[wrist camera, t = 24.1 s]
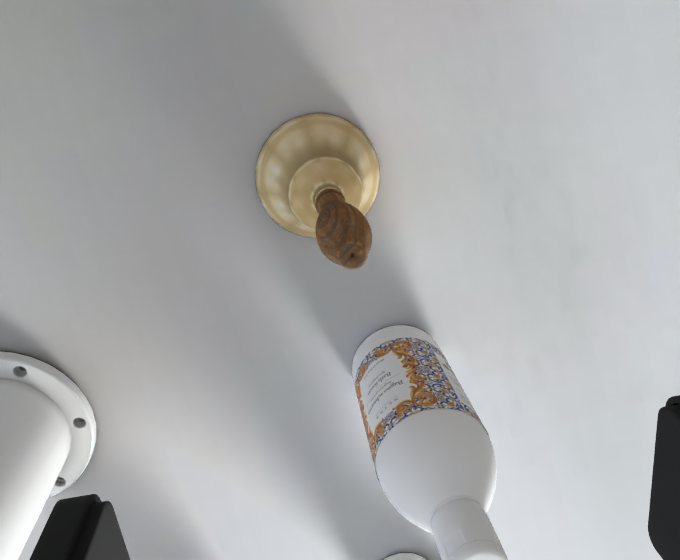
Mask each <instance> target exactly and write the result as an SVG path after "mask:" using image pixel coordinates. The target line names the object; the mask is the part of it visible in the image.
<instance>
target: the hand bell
mask: <svg viewBox="0 0 680 560" xmlns="http://www.w3.org/2000/svg"><path fill="white" fill-rule="evenodd" d="M255 180H256V188H257V192H258V195H259V199H260V201H261V203H262V205H263V207H264V209H265V210H266V212H267V213H268V214H269V215H270V217H271V218H272V219H273V220H274V221H275V222H276V223H277V224H279V225H280V226H281V227H283V228H284V229H286V230H288V231H289V232H292V233H294V234H297V235H300V236H304V237H311V238H317V242H318V245H319V247H320V249H321V251H322V252H323V254H324V255H325V256H326V257H327V258H328V259H329V260H331V261H332V262H334V263H336V264H339V265H341V266H343V267H345V268H347V269H357V268H360V267H361V266H362V265H363V264H364V263H365V262H366V260H367V254H368V252H369V250H370V248H371V244H372V233H371V228H370V225H369V223H368V221H367V220H366V218H365V215H366V214H367V212H368V211H369V209H370V208H371V206H372V204H373V202H374V200H375V197H376V195H377V192H378V188H379V180H380V170H379V163H378V158H377V155H376V152H375V150H374V148H373V146H372V144H371V142H370V141H369V139H368V138H367V137H366V136H365V134H364V133H363V132H362V131H361V130H360V129H359V128H357V127H356V126H355V125H353V124H352V123H350V122H349V121H347V120H345V119H343V118H340V117H337V116H334V115H329V114H321V113H316V114H307V115H303V116H299V117H296V118H294V119H291V120H289V121H288V122H286V123H284V124H283V125H281V126H280V127H279V128H277V129H276V130H275V131H274V132H273V133H272V134H271V136H270V137H269V138H268V139H267V141H266V143H265V144H264V146H263V148H262V150H261V152H260V154H259V157H258V161H257V164H256V173H255Z"/></svg>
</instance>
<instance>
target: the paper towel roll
mask: <svg viewBox="0 0 680 560" xmlns="http://www.w3.org/2000/svg"><path fill="white" fill-rule="evenodd" d="M384 560H426V559H425V558H424V557H422V556H419V555H417V554H414V553H399V554H395V555H392V556H388V557H387V558H385V559H384Z"/></svg>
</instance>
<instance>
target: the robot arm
mask: <svg viewBox="0 0 680 560" xmlns="http://www.w3.org/2000/svg"><path fill="white" fill-rule="evenodd" d="M95 442H96V422H95V418H94V414H93V410H92V408H91V406H90V404H89V403H88V401H87V399H86V397H85V396H84V394H83V393H82V392H81V390H80V389H79V388H78V387H77V385H76V384H75V383H74V382H72V381H71V380H70V379H69V378H68V377H67V376H66V375H65V374H63V373H62V372H60V371H59V370H57V369H55V368H54V367H52V366H51V365H49V364H47V363H44V362H42V361H40V360H37V359H35V358H32V357H29V356H25V355H21V354H17V353H11V352H0V560H18V558H19V556H20V554H21V552H22V550H23V547H24V545H25V543H26V541H27V539H28V537H29V535H30V533H31V531H32V529H33V527H34V525H35V523H36V521H37V519H38V517H39V515H40V512H41V510H42V508H43V506H44V504H45V502H46V500H47V498H50V497H52V496H54V495H57V494H59V493H60V492H62V491H63V490H65V489H66V488H68V487H69V486H71V485H72V484H73V483H74V482H75V481H76V480H77V479H78V478H79V477H80V476H81V474H82V473H83V471H84V470H85V468H86V467H87V465H88V463H89V461H90V458H91V456H92V454H93V451H94V447H95ZM648 532H649V536H650V539H651V542H652V544H653V546H654V548H655V549H656V551H657V552H658V553H659V555H660V556H661V557H662V559H663V560H680V395H679V396H673V397H671V398H669V399H668V401H667V402H666V406H665V407H662V408H661V409H660V410H659V413H658V421H657V432H656V443H655V454H654V465H653V476H652V487H651V499H650V510H649V521H648ZM30 560H130V558H129V554H128V551H127V548H126V545H125V542H124V539H123V536H122V533H121V530H120V527H119V524H118V521H117V518H116V515H115V512H114V508H113V506H112V504H111V503H110V501H105V502H101V500H100V498H99V497H98V496H97V495H96V494H91V495H85V496H79V497H73V498H67V499H62V500H59V501H58V502H57V503H56V504H55V506H54V508H53V510H52V512H51V514H50V517H49V519H48V521H47V523H46V525H45V527H44V530H43V532H42V534H41V536H40V538H39V540H38V543H37V545H36V547H35V549H34V551H33V553H32V556H31V558H30Z"/></svg>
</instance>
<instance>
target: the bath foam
mask: <svg viewBox="0 0 680 560" xmlns="http://www.w3.org/2000/svg"><path fill="white" fill-rule="evenodd" d="M352 376H353V381H354V385H355V390H356V394H357V398H358V402H359V406H360V410H361V414H362V418H363V422H364V426H365V430H366V434H367V438H368V442H369V446H370V450H371V454H372V458H373V462H374V466H375V470H376V474H377V477H378V480H379V482H380V484H381V487H382V489H383V491H384V493H385V494H386V496H387V498H388V499H389V501H390V502H391V504H392V505H393V506H394V507H395V509H396V510H397V511H398V512H399V513H400V514H401V515H402V516H404V517H405V518H406V519H407V520H408V521H410V522H411V523H413V524H414V525H416V526H418V527H420V528H421V529H423V530H425V531H427V532H429V533H431V534H433V536H434V539H435V542H436V545H437V548H438V551H439V554H440V557H441V560H508V558H507V556H506V554H505V552H504V550H503V547H502V545H501V543H500V541H499V539H498V537H497V534H496V532H495V530H494V528H493V526H492V524H491V522H490V520H489V518H488V516H487V512H488V509H489V507H490V504H491V501H492V498H493V495H494V491H495V487H496V479H497V466H496V459H495V454H494V450H493V447H492V443H491V441H490V438H489V435H488V433H487V431H486V429H485V428H484V426H483V424H482V422H481V420H480V419H479V417H478V415H477V413H476V412H475V410H474V408H473V406H472V405H471V403H470V401H469V399H468V397H467V396H466V394H465V392H464V390H463V389H462V387H461V385H460V383H459V381H458V380H457V378H456V376H455V374H454V373H453V371H452V369H451V367H450V365H449V364H448V362H447V360H446V358H445V357H444V355H443V354H442V352H441V350H440V348H439V347H438V345H437V343H436V342H435V341H434V340H433V338H432V337H431V336H429V335H428V334H427V333H425V332H424V331H422V330H420V329H418V328H415V327H411V326H405V325H396V326H390V327H386V328H383V329H380V330H378V331H376V332H375V333H373V334H371V335H370V336H369V337H368V338H366V339H365V340H364V341H363V343H362V344H361V345H360V346H359V348H358V350H357V351H356V354H355V356H354V359H353V364H352Z"/></svg>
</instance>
